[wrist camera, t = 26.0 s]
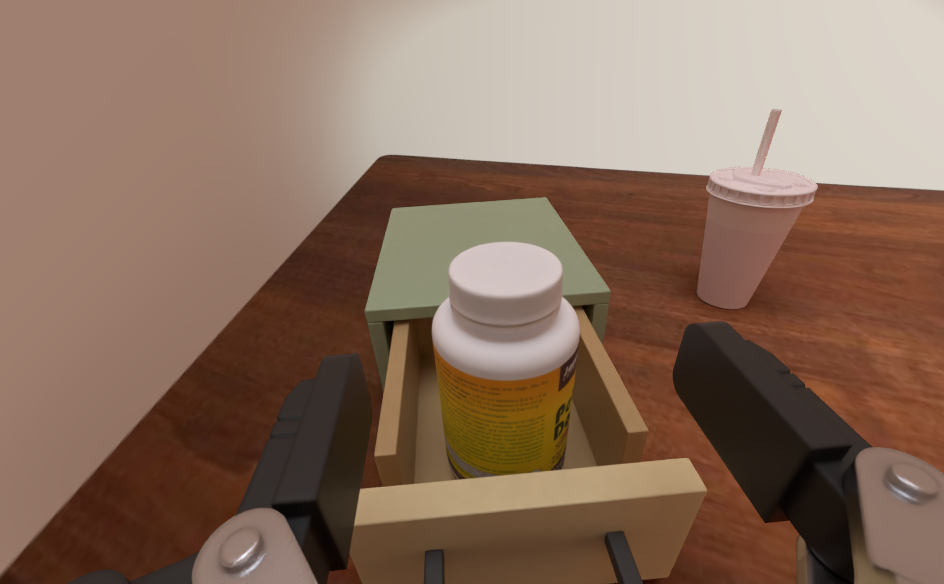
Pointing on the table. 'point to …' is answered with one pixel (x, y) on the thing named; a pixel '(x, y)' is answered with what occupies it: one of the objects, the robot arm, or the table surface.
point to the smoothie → (747, 225)
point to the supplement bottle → (505, 361)
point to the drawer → (519, 489)
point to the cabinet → (452, 232)
